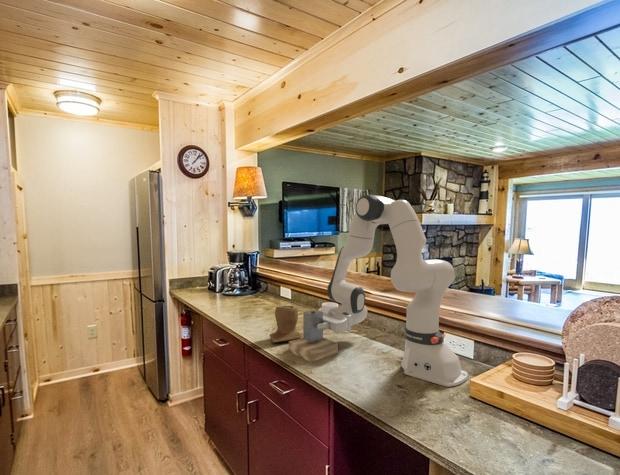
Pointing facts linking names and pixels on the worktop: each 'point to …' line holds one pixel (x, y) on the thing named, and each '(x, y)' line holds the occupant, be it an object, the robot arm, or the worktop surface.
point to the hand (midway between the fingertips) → (311, 324)
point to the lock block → (312, 325)
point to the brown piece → (285, 324)
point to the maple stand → (313, 348)
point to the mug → (328, 306)
